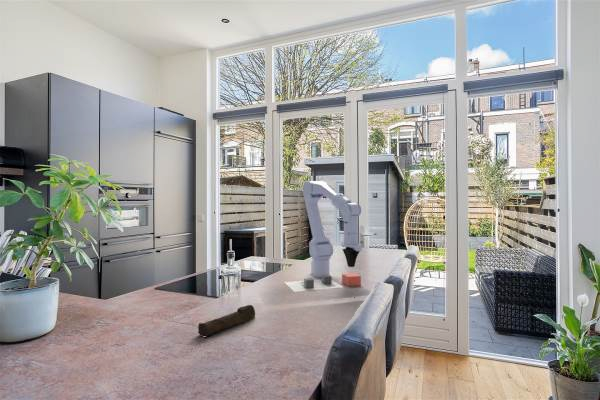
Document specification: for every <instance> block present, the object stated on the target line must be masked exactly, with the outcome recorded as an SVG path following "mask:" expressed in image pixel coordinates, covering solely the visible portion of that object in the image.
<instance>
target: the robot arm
mask: <svg viewBox="0 0 600 400" xmlns="http://www.w3.org/2000/svg"><path fill="white" fill-rule="evenodd" d="M301 190H302V194H303V198H304V199H303V200H304V204H305V208H306V209H305V210H306V212H307V213H306V214H307V217H308V221H309V226H310V231H311V235H312V239H311V240H310V241H309V243H308V246H309V247H308V249H309V250H308V253H309V255H310V257H311V259H312V260H311V261H310V262H311V263H310V264H311V265H310V266H311V267H310V269H311V274H312V275H313V276H314V277H315V278H316V277H317V278H322V275H330V268H331V267H330V259H331V258H332V256H333V254H334V247H333V245H332V243H331V240H330V238H328V237H327V236H325V231H324V228H323V223H322V218H321V213H320V210H319V205H318V202H319V201H321V199H322V198H323V197H326V198H327V199H329V200H330V201H331V204H332V206H334V207H335V208H336V209H338V211H339V213H340V215H341V217H342V218H341V219H342V221H343V241H341V242H340V244H341V247H344V248H342V252H343V254H344V256H345V260H346V264H347V267H349V268H355V266H356V262H357V257H358V255H359V253H360V252H362V245H361V244H359V216H360V215H361V213H362V208H361V205H360V203H359V202H353V201H351V199H349V198H347V197H345V195H344V194H343V193H336V192H335V191H334V190H333V189H331V187H329V186H328V183H327V182H325V181H324V180H320V181H319V180H305V181H304V182H303V185H302V188H301ZM330 276H331V275H330Z"/></svg>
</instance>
